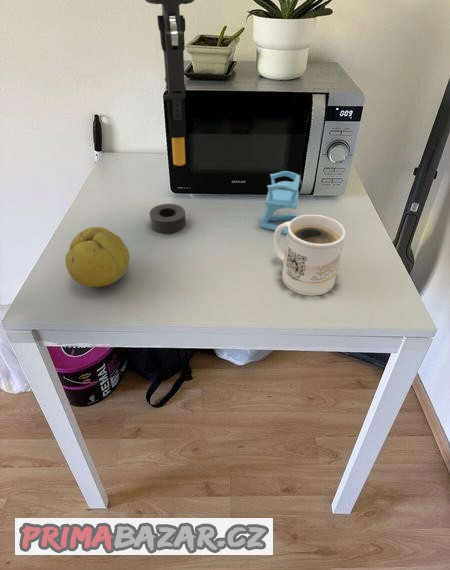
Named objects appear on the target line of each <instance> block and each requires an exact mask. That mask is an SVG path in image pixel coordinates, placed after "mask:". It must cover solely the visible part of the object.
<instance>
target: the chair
mask: <svg viewBox="0 0 450 570" xmlns="http://www.w3.org/2000/svg"><path fill="white" fill-rule="evenodd" d="M269 177H270V179H271V180H270V181H271V184H267V185H266V187H267V190H268V191H267V195H266V199H265V202H264V207H265V206H266V207H265V209H264V211H263V213H262V215H261V220H260V222H259V227H261V228H263V229H268V230H271V231H275V230H276V228H277V227H278V226H279V225H277V224H274V223H271V222H276V221H291V220H293V219H294V218H296V217H299V216H300V214H277V215H276V214H275V215H274V213H276V211H278V210H280V209H281V210H282V209H293V210H297V207H298V200H299V199H298V198H299V194H300V190H299V188H300V182H301V181H300V180H301V179H300V178H301V174H298V173H296V172H293V171H288V170H283V171H282V170H281V171H279V172H276V173H270V174H269ZM281 177H287V178H290V179H291V180H293V181H288V180H283V181H278V182H276V180H275V179H278V178H281ZM287 229H288V228H283V229H282V231H281V234H284V235H287Z"/></svg>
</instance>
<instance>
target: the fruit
mask: <svg viewBox="0 0 450 570" xmlns="http://www.w3.org/2000/svg"><path fill="white" fill-rule="evenodd" d="M68 248H69V249H68V251H67V253H66V254H65V259H64V261H65V266H66V270H67V273H68V274H69V276H70V277H71V278H72V280H74V282H77V283H78V284H80V285H82V286H85V287H88V288H89V287H90V288H99V287H106V286H108V285H112V284H113V283H115V282H117V281H118V280H120V279H122V277H123V276H124V275H125V273H126V271H127V270H128V267H129V265H130V251H129V249H128V247H127V246H126V244H125V242H124V241H123V239H122V238H121V237H120V236H119V235H118V234H116V233H114V232H113V231H111V230H109V229H107V228H105V227H101V226H92V227H89V228H86V229H83V230H81V231H79V232H78V233H77V234H76V235H75V236H74V237H73V239H72V240H71V242H70V245H69V247H68Z"/></svg>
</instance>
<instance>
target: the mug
mask: <svg viewBox="0 0 450 570" xmlns="http://www.w3.org/2000/svg"><path fill="white" fill-rule="evenodd" d="M277 226H278V227H277V228H276V230H274V233H273V239H272V240H273V242H272V243H273V248H274V250H275V253H276V255H277V257H278V258H279V259H280V261H282V263H283V264H282V272H281V280H282V282H283V284H284V286H286V287H287V288H288V289H289V290H291V291H292V292H295V293H297V294H300V295H303V296H311V297H312V296H313V297H314V296H320V295H324V294H326V293H328V292H330V291H331V290H332V289H333V287H334V286H335V283H336V278H337V274H338V269H339V265H340V261H341V256H342V251H343V247H344V242H345V238H346V230H345V229H346V228H345V227H344V226H343V225H342V223H341V222H339V221H337V220H336V219H334V218H332V217H330V216H326V215H321V214H311V213H310V214H302V215H299V217H296V218H294V219H291V220H286V221H284V222H283V223H281V224H279V225H277ZM283 228H286V229H287V234H286V239H285V246H284V248H283V247H282V242H281V234H282V233H281V231H282V229H283Z"/></svg>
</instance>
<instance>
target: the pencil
mask: <svg viewBox="0 0 450 570" xmlns="http://www.w3.org/2000/svg"><path fill="white" fill-rule="evenodd" d="M171 146H172V147H171V148H172V162H173V163H172V164H173V165H174V166H177V167H178V166H179V167H180V166H184V165H186V145H185V137H183V138H171Z"/></svg>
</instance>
